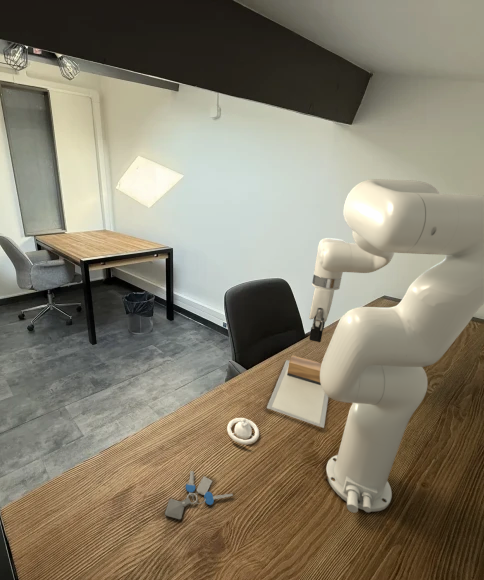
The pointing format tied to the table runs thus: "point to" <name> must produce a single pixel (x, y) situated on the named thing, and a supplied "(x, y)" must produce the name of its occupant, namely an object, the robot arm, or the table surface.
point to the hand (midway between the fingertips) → (316, 334)
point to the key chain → (177, 507)
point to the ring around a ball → (243, 431)
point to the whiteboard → (299, 399)
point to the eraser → (304, 369)
